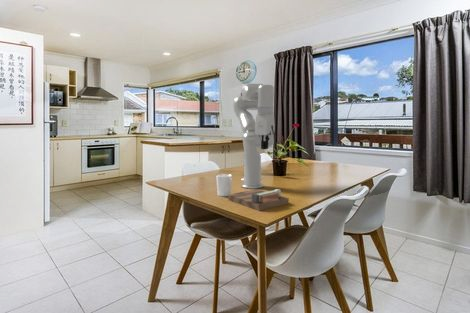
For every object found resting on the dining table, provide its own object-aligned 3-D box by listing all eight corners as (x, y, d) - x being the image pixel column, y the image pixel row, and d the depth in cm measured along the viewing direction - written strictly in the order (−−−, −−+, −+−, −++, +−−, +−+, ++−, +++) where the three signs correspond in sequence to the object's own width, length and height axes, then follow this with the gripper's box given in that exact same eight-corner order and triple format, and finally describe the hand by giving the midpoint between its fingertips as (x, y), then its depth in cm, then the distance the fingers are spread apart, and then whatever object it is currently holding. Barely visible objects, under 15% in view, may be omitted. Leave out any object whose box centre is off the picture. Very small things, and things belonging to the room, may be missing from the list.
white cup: (225, 192, 151) (225, 173, 150) (235, 195, 145) (235, 175, 144) (213, 194, 146) (213, 175, 145) (222, 197, 140) (222, 177, 139)
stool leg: (277, 195, 132) (277, 188, 132) (281, 196, 130) (281, 189, 130) (251, 201, 122) (251, 194, 122) (256, 202, 120) (256, 195, 120)
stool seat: (228, 199, 136) (228, 188, 136) (256, 194, 147) (256, 183, 146) (258, 210, 119) (258, 197, 118) (288, 203, 129) (288, 191, 129)
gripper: (249, 111, 141) (249, 147, 144) (269, 111, 129) (268, 151, 132) (261, 111, 145) (260, 146, 148) (282, 111, 133) (280, 150, 136)
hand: (264, 148), depth 140 cm, fingers closed
